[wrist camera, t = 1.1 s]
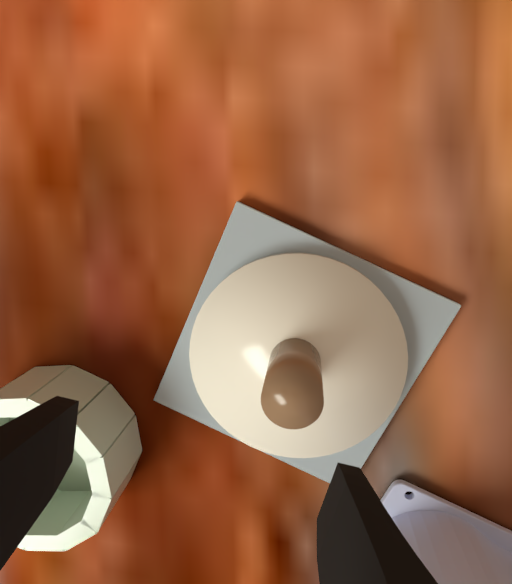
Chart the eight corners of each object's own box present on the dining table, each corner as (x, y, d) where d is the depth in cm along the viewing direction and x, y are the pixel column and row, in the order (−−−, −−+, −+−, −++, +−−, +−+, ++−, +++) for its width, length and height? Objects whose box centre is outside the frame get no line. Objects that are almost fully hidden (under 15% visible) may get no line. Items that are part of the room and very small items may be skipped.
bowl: (161, 406, 24) (132, 448, 20) (112, 519, 26) (79, 576, 22) (21, 340, 24) (-34, 369, 20) (-15, 459, 26) (-70, 505, 23)
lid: (446, 310, 20) (487, 345, 15) (342, 480, 23) (351, 552, 18) (241, 215, 20) (222, 222, 16) (164, 396, 23) (128, 447, 19)
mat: (457, 303, 20) (461, 305, 20) (346, 485, 24) (346, 491, 23) (238, 201, 21) (236, 201, 20) (156, 395, 24) (153, 400, 23)
